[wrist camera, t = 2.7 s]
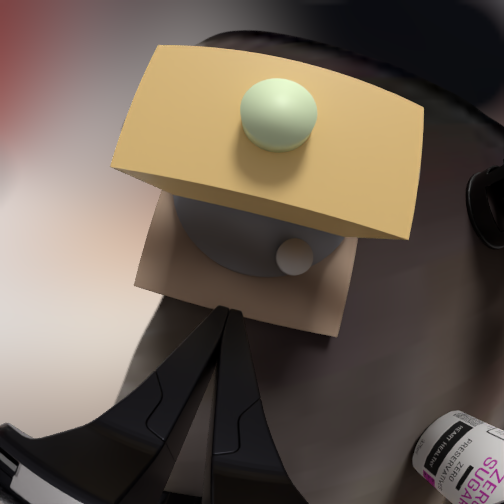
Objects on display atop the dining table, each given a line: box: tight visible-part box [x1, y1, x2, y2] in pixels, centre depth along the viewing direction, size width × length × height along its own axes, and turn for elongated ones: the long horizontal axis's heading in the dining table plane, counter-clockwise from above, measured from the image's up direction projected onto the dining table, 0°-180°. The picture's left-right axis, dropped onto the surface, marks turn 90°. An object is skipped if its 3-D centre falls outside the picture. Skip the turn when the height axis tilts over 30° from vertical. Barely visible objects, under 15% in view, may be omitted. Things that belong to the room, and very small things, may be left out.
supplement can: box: [412, 410, 504, 504], centre depth 13 cm, size 8×8×15 cm
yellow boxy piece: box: [111, 45, 424, 240], centre depth 13 cm, size 6×13×10 cm, turn 76°
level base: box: [134, 190, 358, 337], centre depth 21 cm, size 20×16×4 cm
